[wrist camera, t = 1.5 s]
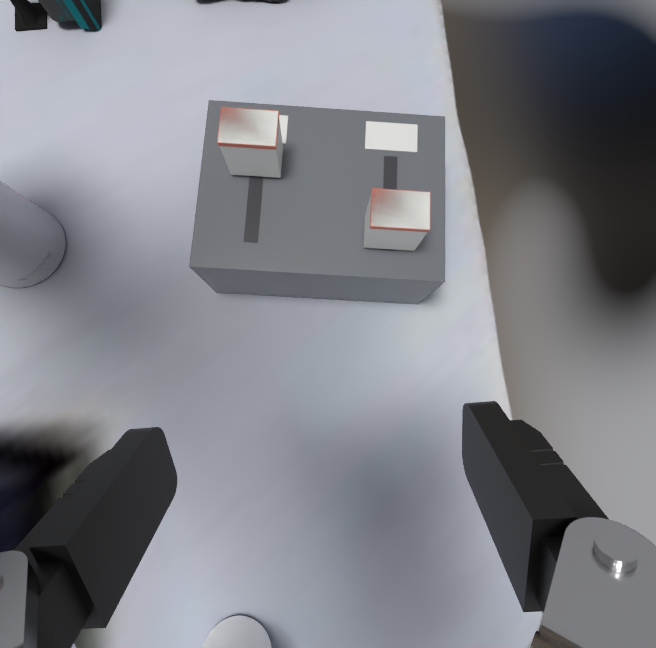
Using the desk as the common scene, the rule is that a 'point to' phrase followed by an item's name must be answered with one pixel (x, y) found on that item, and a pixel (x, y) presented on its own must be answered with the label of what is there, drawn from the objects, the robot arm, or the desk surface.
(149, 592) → the desk surface
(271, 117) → the switch
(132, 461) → the robot arm
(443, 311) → the desk surface
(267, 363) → the desk surface
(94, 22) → the surveillance camera
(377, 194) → the switch
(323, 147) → the power box
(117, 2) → the desk surface
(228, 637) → the can
